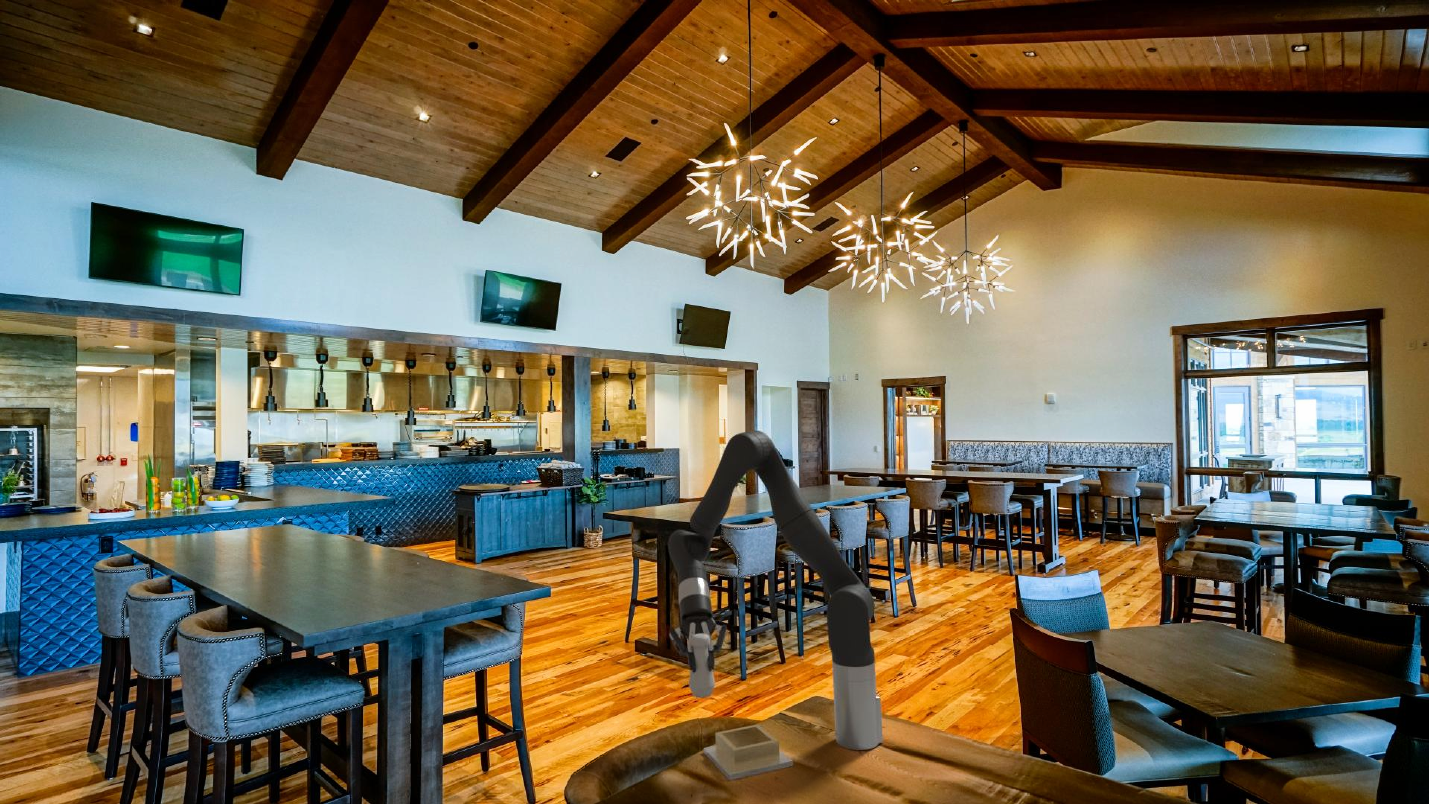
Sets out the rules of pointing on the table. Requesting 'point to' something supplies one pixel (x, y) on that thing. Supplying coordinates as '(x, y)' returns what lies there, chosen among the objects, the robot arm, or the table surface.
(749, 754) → the beige square open box
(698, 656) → the salt shaker
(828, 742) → the table surface
